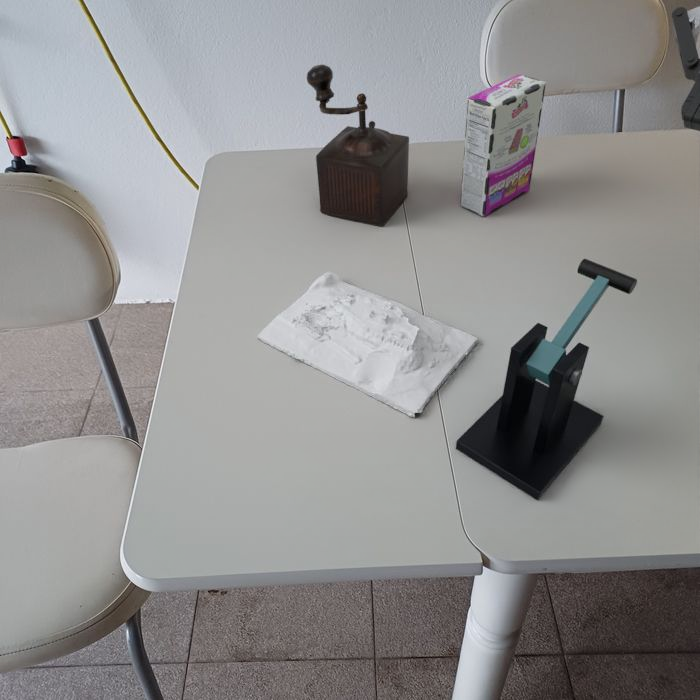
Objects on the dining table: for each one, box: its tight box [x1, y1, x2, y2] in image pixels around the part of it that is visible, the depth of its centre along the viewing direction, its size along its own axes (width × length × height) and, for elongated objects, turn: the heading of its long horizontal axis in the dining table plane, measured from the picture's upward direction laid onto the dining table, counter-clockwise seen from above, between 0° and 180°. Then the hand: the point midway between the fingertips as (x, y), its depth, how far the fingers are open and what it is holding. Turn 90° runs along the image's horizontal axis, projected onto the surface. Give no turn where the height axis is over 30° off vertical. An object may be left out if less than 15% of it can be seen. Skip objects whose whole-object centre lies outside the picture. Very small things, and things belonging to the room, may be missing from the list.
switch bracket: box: [455, 322, 604, 501], centre depth 59 cm, size 12×9×12 cm
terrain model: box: [257, 271, 479, 418], centre depth 73 cm, size 17×23×5 cm
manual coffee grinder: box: [306, 64, 410, 227], centre depth 92 cm, size 16×11×18 cm
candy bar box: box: [459, 74, 547, 218], centre depth 91 cm, size 11×5×16 cm, turn 132°
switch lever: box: [526, 258, 638, 386], centre depth 57 cm, size 12×5×2 cm, turn 137°
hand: (692, 125), depth 57 cm, fingers closed
